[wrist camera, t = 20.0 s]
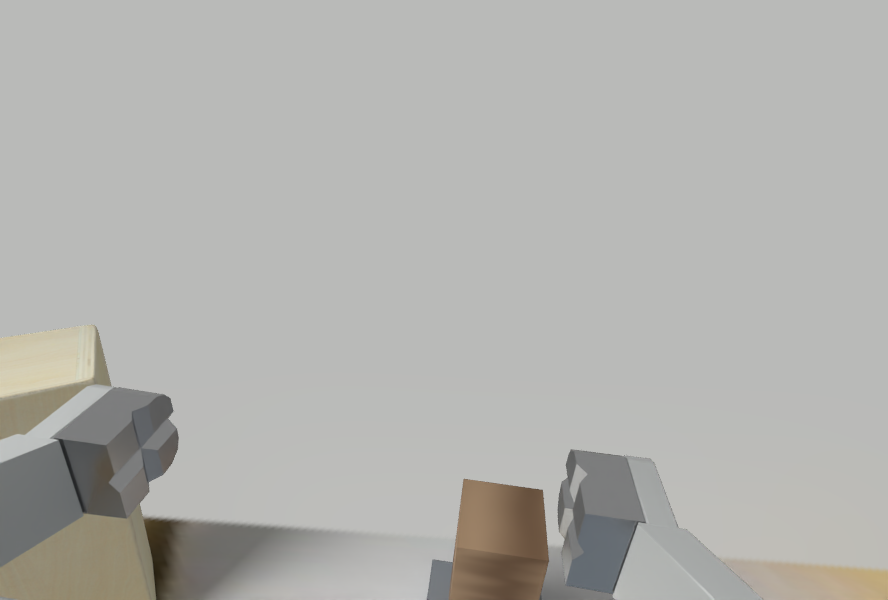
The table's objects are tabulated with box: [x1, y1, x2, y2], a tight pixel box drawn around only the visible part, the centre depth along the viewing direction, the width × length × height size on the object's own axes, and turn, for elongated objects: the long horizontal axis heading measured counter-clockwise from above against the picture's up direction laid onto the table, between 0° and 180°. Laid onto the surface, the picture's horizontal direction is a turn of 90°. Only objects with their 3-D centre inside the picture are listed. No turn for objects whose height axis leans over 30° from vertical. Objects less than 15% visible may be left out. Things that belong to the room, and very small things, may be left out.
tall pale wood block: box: [0, 325, 156, 600], centre depth 31 cm, size 8×7×21 cm
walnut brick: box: [449, 479, 549, 600], centre depth 32 cm, size 5×5×10 cm
